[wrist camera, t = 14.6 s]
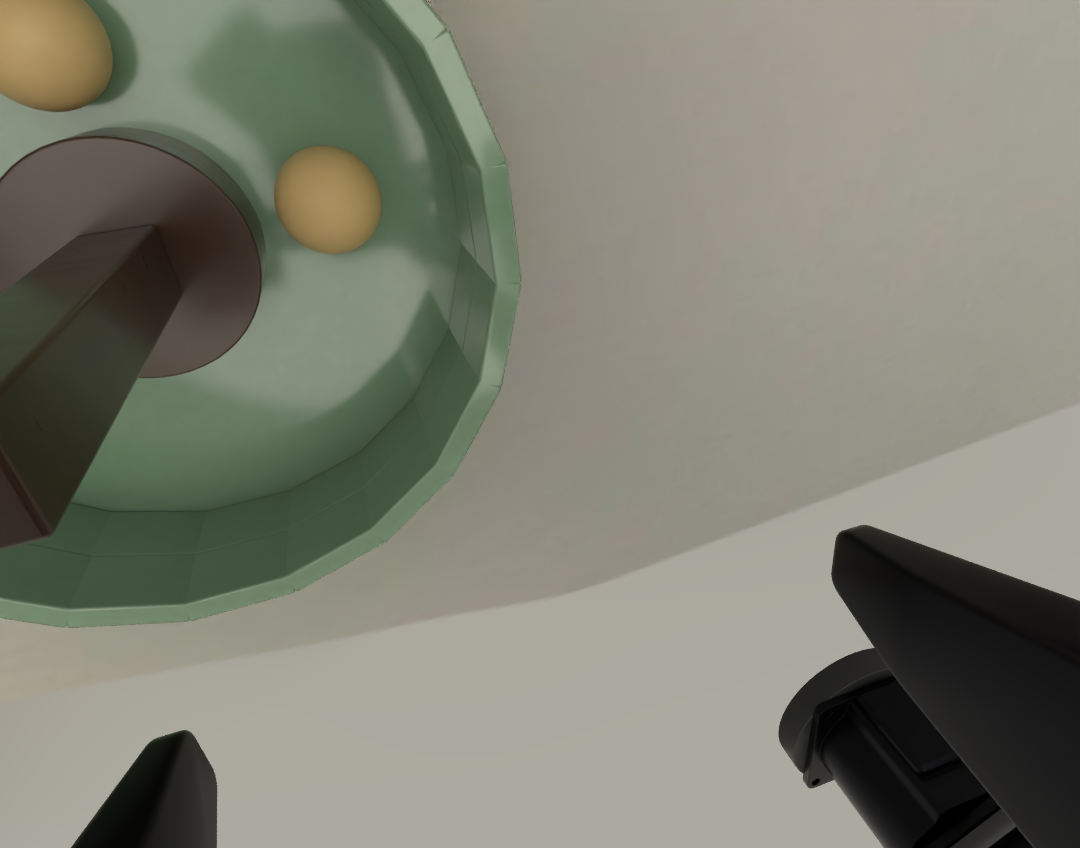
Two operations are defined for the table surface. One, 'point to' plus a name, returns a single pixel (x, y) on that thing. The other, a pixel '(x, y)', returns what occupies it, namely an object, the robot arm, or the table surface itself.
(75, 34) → the bean
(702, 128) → the table surface
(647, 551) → the table surface
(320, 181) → the bean
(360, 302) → the mixing bowl
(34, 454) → the lever handle
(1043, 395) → the table surface
